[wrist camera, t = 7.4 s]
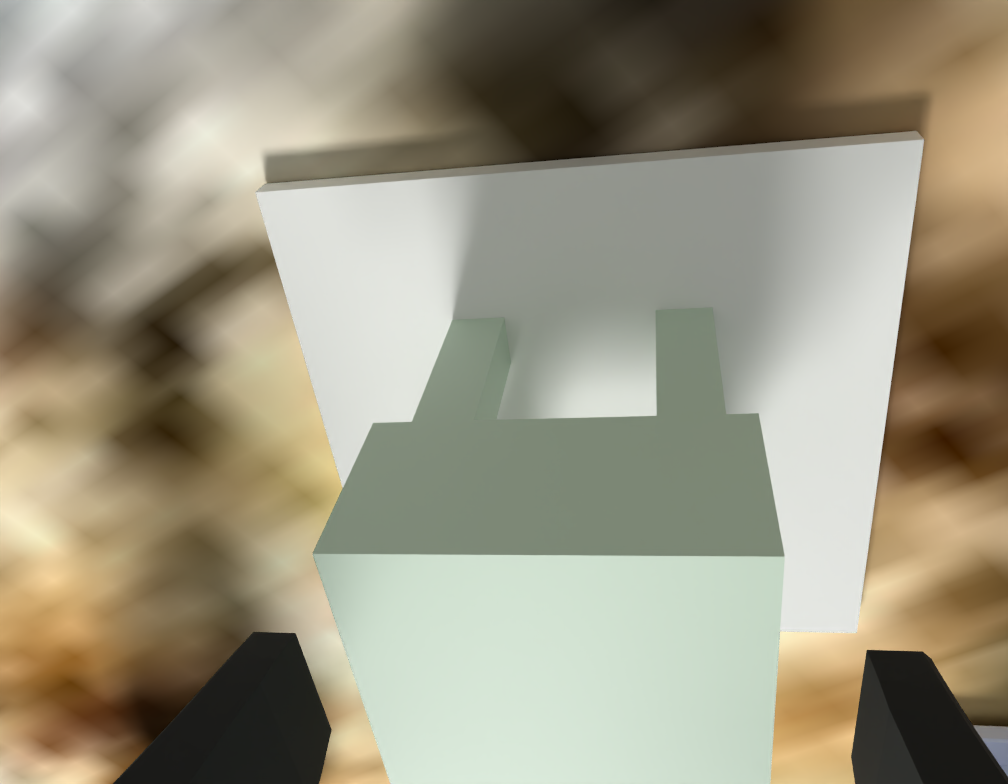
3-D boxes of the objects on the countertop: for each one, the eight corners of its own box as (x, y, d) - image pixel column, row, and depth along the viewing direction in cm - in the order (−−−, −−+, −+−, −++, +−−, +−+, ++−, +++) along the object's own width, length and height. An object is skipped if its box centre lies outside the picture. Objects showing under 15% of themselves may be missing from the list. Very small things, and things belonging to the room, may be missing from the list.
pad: (917, 130, 12) (923, 139, 12) (852, 618, 18) (856, 632, 17) (264, 184, 14) (255, 192, 14) (386, 608, 19) (382, 622, 19)
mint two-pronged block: (735, 286, 13) (784, 557, 8) (731, 525, 16) (767, 836, 11) (428, 302, 14) (312, 554, 9) (472, 525, 17) (400, 812, 12)
